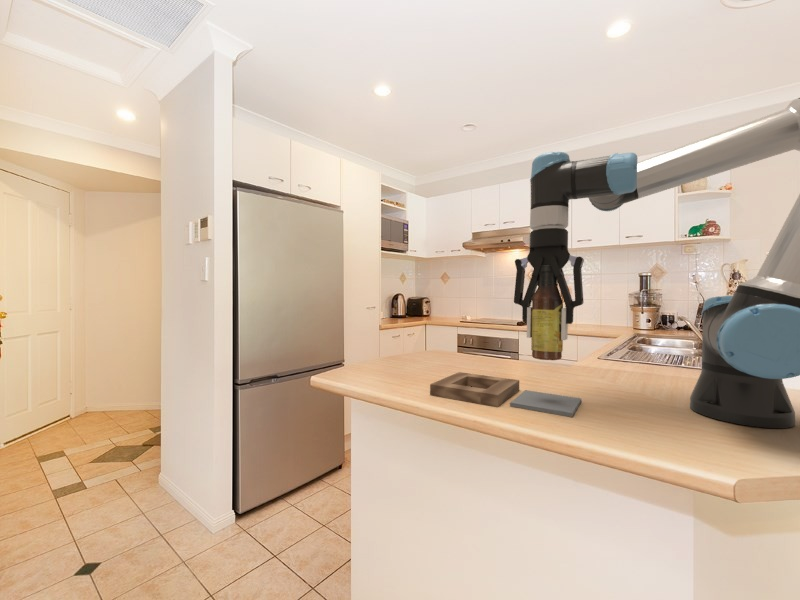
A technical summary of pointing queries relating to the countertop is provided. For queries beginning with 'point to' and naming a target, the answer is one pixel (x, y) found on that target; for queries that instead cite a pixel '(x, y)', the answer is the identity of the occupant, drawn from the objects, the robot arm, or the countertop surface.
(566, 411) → the mat
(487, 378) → the caddy
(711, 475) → the countertop surface
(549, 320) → the sauce bottle
